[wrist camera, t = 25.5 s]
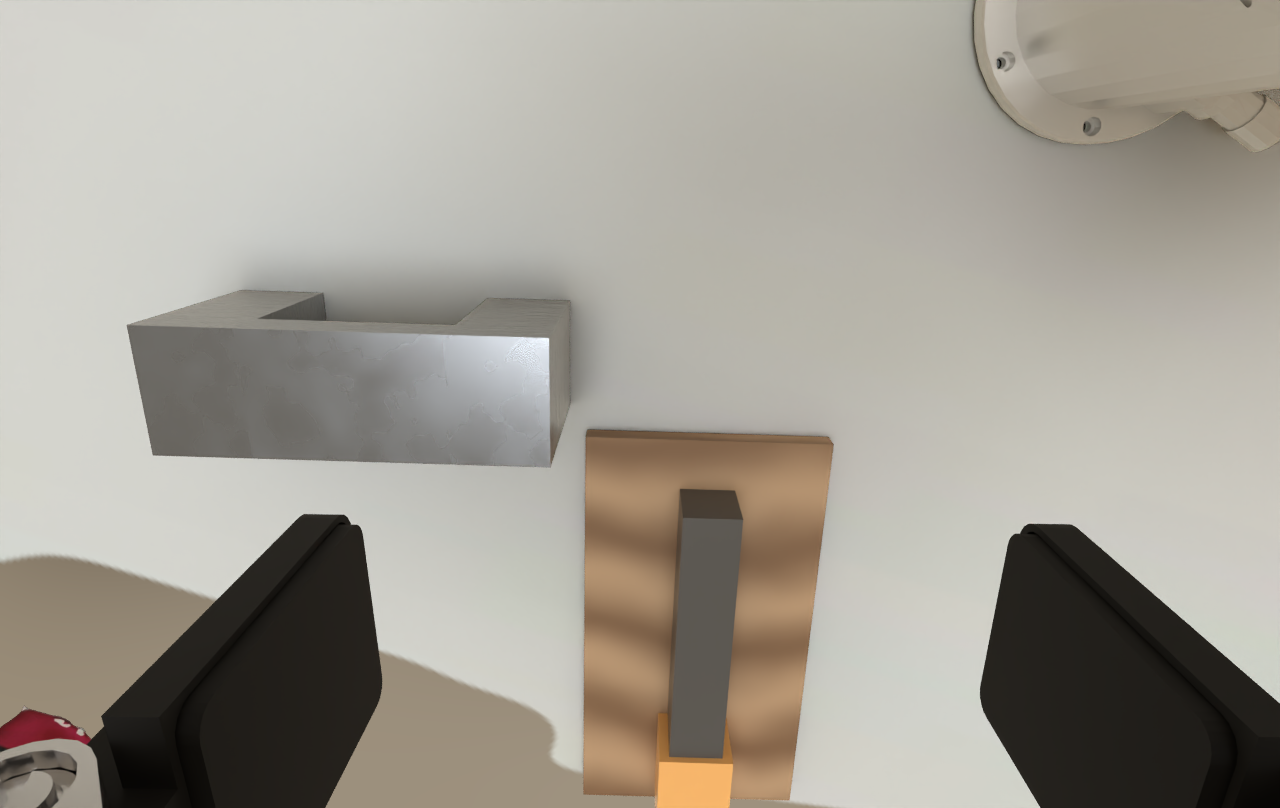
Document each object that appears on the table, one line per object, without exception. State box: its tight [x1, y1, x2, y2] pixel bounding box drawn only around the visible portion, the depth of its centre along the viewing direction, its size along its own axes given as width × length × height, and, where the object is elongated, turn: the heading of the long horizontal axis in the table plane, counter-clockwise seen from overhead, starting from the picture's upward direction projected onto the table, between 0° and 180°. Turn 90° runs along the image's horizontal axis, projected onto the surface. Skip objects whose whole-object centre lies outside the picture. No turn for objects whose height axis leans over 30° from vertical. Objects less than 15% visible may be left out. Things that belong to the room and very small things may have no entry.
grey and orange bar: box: [655, 489, 743, 808], centre depth 43 cm, size 23×4×4 cm, turn 178°
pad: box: [584, 430, 834, 800], centre depth 45 cm, size 26×14×1 cm, turn 178°
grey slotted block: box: [127, 290, 570, 467], centre depth 36 cm, size 6×18×9 cm, turn 88°
